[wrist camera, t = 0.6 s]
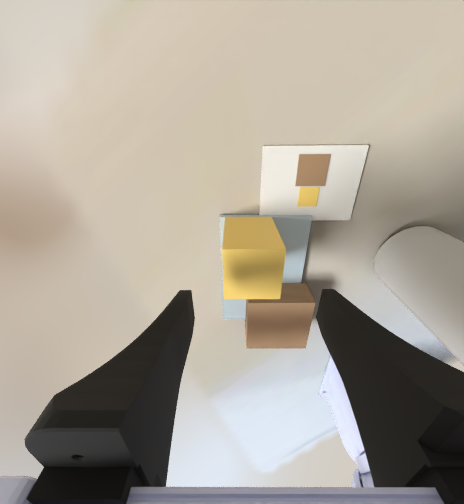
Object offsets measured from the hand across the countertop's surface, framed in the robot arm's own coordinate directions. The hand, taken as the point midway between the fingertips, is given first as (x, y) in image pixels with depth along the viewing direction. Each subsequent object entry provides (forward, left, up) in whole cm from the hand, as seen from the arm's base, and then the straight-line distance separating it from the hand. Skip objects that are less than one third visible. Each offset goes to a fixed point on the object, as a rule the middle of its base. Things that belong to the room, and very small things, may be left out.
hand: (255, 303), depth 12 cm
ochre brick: (0, 0, -9) cm, 9 cm away
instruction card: (+4, -5, -9) cm, 12 cm away
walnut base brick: (-8, -3, -9) cm, 12 cm away
